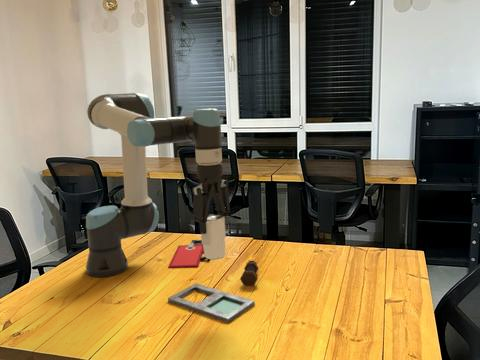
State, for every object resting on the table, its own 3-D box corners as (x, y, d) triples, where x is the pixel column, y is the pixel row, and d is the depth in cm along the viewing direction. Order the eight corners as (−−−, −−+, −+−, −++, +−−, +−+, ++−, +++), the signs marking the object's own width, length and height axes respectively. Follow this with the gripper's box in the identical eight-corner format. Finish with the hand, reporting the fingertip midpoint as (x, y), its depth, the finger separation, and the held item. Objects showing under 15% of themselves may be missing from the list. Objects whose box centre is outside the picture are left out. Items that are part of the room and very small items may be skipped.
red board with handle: (215, 241, 195) (181, 242, 196) (215, 235, 195) (181, 236, 195) (208, 268, 166) (168, 270, 167) (207, 261, 165) (167, 263, 166)
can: (228, 253, 134) (226, 214, 132) (220, 260, 128) (218, 220, 126) (209, 251, 136) (207, 213, 134) (200, 259, 130) (197, 219, 128)
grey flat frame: (168, 301, 139) (167, 298, 139) (196, 286, 149) (195, 283, 149) (228, 322, 125) (228, 318, 125) (254, 304, 135) (254, 300, 135)
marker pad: (207, 310, 133) (207, 309, 133) (223, 299, 139) (223, 299, 139) (228, 317, 128) (228, 316, 128) (244, 306, 134) (244, 305, 134)
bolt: (254, 273, 163) (251, 290, 148) (242, 267, 163) (238, 283, 148) (262, 260, 162) (259, 276, 147) (250, 254, 162) (246, 268, 147)
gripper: (196, 169, 117) (201, 252, 121) (240, 159, 132) (243, 233, 137) (176, 167, 122) (181, 247, 126) (220, 158, 137) (224, 230, 141)
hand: (213, 240), depth 131 cm, fingers closed on can, 6 cm apart
